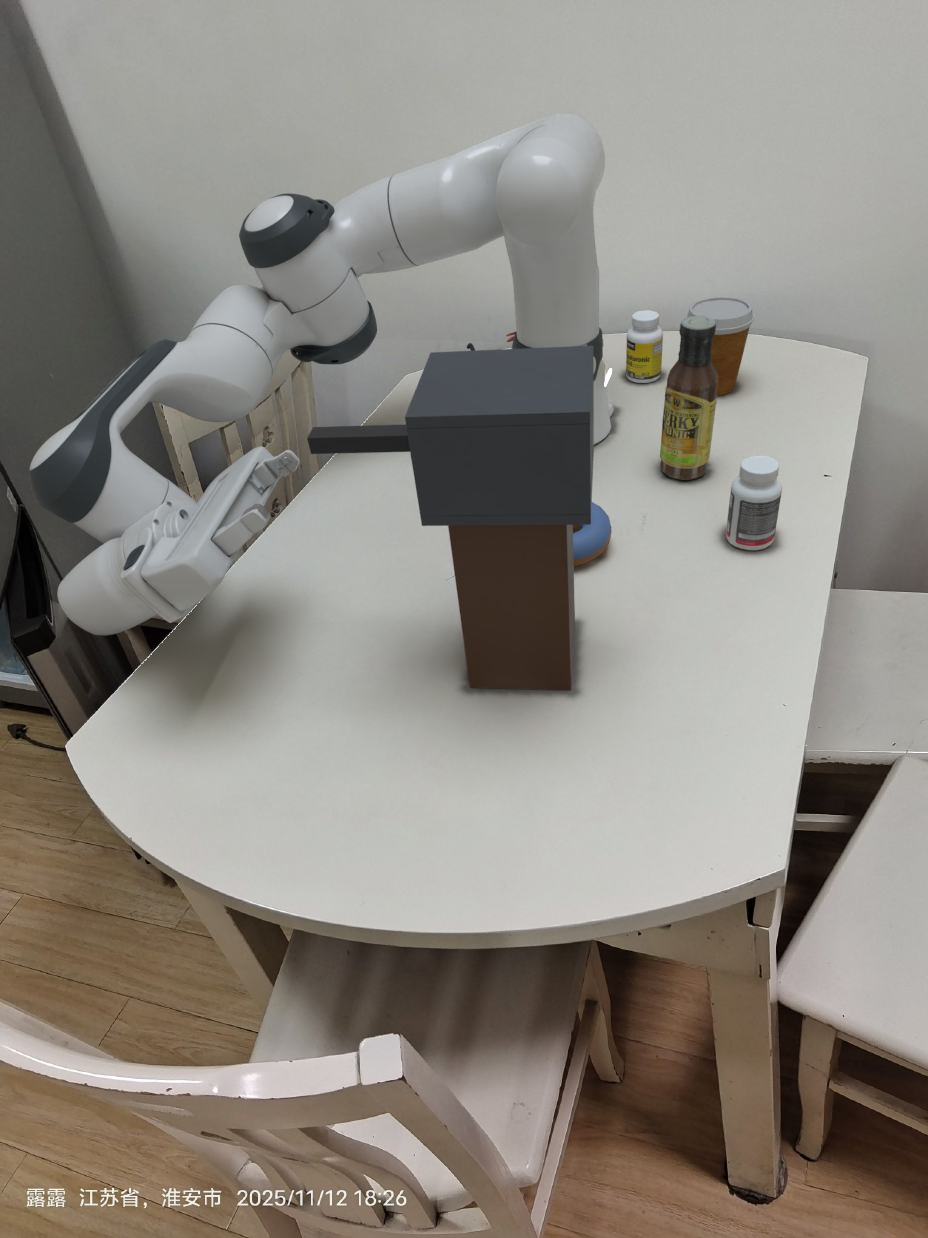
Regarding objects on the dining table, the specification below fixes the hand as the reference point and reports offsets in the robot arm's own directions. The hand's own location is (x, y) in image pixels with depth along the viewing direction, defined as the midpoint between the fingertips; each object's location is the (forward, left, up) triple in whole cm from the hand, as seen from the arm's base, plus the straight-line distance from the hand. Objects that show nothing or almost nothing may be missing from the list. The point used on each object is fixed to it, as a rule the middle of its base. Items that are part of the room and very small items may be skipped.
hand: (279, 484), depth 78 cm
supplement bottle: (-27, +68, -21) cm, 76 cm away
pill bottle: (+14, +48, -21) cm, 54 cm away
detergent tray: (+10, +12, +1) cm, 16 cm away
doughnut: (+2, +31, -21) cm, 38 cm away
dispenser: (+14, +16, -21) cm, 30 cm away
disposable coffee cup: (-17, +73, -21) cm, 78 cm away
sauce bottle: (-2, +53, -21) cm, 57 cm away
